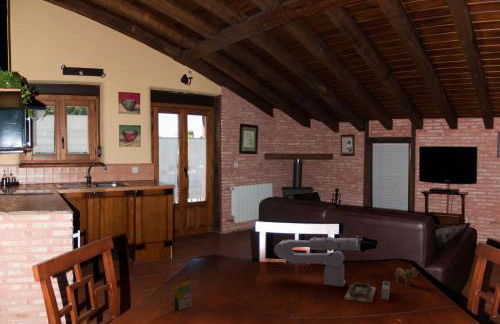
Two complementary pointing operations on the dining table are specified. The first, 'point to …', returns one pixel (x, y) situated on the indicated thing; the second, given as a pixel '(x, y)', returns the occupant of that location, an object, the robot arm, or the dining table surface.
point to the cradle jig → (360, 292)
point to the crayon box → (182, 295)
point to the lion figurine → (406, 274)
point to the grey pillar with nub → (385, 290)
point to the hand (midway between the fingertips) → (376, 244)
